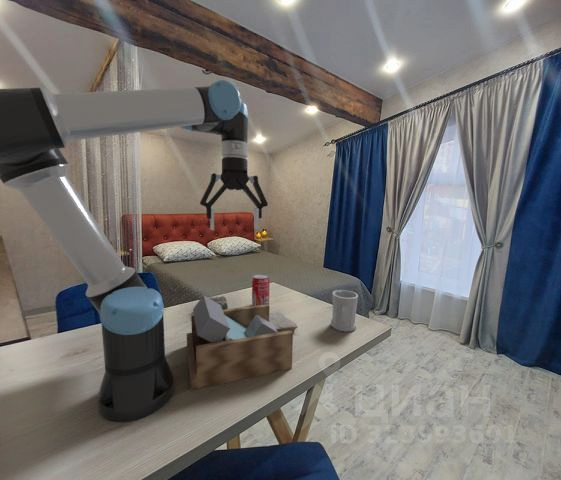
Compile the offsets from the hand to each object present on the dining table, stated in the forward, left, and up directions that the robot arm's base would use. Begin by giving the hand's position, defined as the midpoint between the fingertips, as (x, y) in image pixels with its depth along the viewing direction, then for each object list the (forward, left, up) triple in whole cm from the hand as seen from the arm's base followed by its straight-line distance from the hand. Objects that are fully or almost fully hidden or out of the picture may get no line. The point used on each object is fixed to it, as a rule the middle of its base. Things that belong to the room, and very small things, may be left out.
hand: (234, 229), depth 84 cm
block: (+3, -12, -31) cm, 33 cm away
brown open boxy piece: (-2, -12, -35) cm, 37 cm away
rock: (-4, +21, -35) cm, 41 cm away
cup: (+38, -7, -35) cm, 52 cm away
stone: (+16, +4, -35) cm, 39 cm away
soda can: (+15, +21, -35) cm, 43 cm away
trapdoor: (-4, -12, -29) cm, 32 cm away
